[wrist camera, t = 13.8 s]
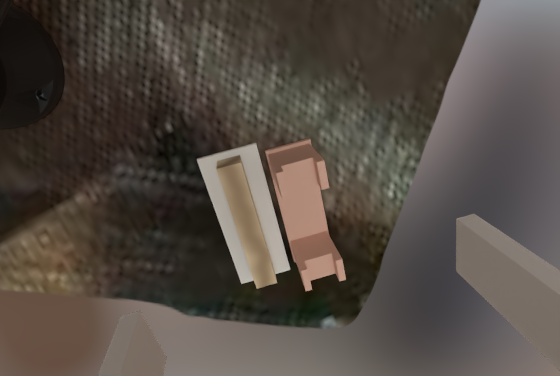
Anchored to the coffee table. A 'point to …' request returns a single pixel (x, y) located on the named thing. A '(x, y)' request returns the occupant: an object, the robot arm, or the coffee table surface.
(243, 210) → the rail
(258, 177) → the mat
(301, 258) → the stand
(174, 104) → the coffee table surface
